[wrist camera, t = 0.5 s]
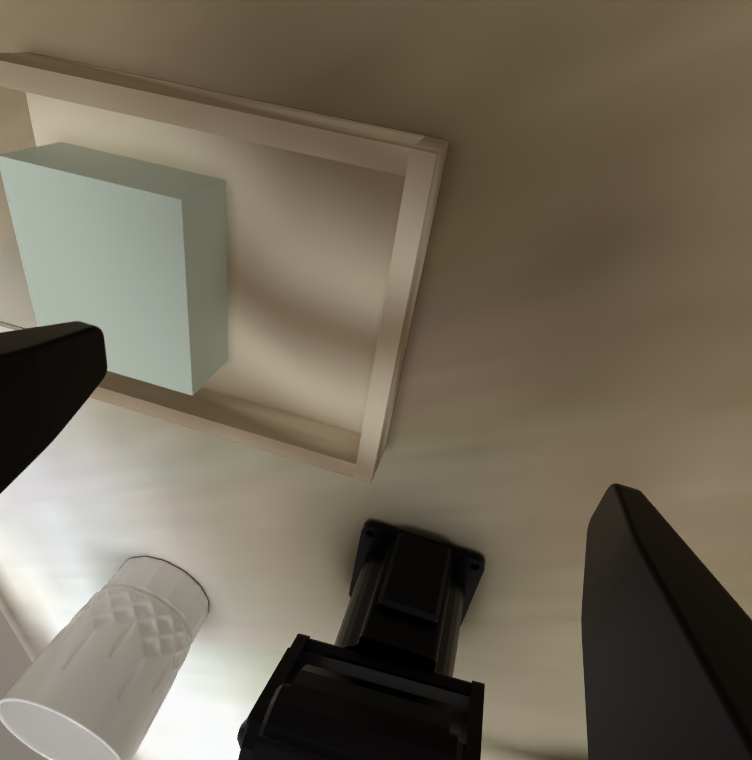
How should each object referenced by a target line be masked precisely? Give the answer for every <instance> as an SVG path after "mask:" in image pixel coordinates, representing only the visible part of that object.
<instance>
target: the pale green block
mask: <svg viewBox="0 0 752 760" xmlns="http://www.w3.org/2000/svg"><path fill="white" fill-rule="evenodd" d="M0 171H1V176H2V180H3V184H4V188H5V192H6V197H7V201H8V205H9V209H10V213H11V217H12V222H13V226H14V230H15V234H16V238H17V243H18V247H19V251H20V255H21V259H22V263H23V268H24V272H25V276H26V280H27V284H28V289H29V293H30V297H31V301H32V305H33V309H34V314H35V318H36V322H37V326H38V327H40V326H46V325H53V324H59V323H66V322H73V321H81V322H84V323H88V324H91V325H94V326H97V327H99V328H100V329H101V330H102V332H103V334H104V340H105V349H106V357H107V371H110V372H114V373H117V374H120V375H124V376H127V377H131V378H134V379H137V380H141V381H144V382H148V383H151V384H154V385H158V386H161V387H164V388H168V389H171V390H175V391H178V392H181V393H185V394H188V395H192V396H193V395H194V394H195V393H196V392H197V391H198V390H199V389H200V388H201V387H202V386H203V385H204V384H205V383H206V382H207V381H208V380H209V379H210V378H211V377H212V376H213V375H214V374H215V373H216V372H217V371H218V370H219V369H220V368H221V367H222V366H223V365H224V364H225V363H226V362H227V361H228V307H227V213H226V180H223V179H219V178H215V177H210V176H206V175H202V174H197V173H193V172H189V171H185V170H180V169H176V168H172V167H167V166H163V165H159V164H155V163H150V162H146V161H142V160H137V159H133V158H129V157H125V156H120V155H116V154H112V153H107V152H103V151H99V150H95V149H90V148H86V147H82V146H77V145H73V144H69V143H65V142H57V143H52V144H48V145H43V146H38V147H33V148H29V149H24V150H19V151H14V152H10V153H5V154H0Z"/></svg>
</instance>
